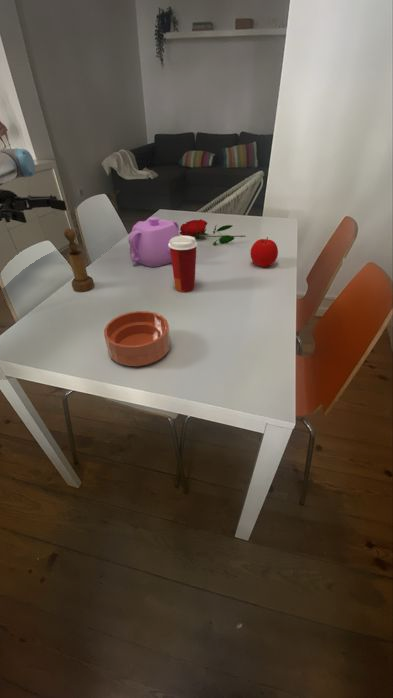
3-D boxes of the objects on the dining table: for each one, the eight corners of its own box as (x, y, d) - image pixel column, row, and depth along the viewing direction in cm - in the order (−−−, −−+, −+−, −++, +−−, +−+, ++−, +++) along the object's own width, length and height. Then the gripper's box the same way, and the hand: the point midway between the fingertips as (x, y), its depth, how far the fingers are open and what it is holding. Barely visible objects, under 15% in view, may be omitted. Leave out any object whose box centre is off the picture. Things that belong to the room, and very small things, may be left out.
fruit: (249, 269, 108) (251, 240, 102) (249, 259, 115) (252, 231, 109) (276, 270, 107) (280, 241, 101) (275, 260, 114) (279, 232, 108)
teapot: (138, 248, 126) (133, 210, 118) (190, 248, 125) (189, 210, 116) (126, 267, 111) (119, 226, 103) (185, 268, 110) (183, 226, 101)
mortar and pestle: (78, 282, 103) (63, 225, 92) (97, 282, 102) (84, 225, 91) (69, 291, 98) (52, 232, 87) (89, 292, 97) (74, 233, 86)
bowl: (101, 368, 69) (95, 346, 66) (117, 331, 81) (113, 310, 77) (166, 369, 69) (163, 347, 65) (173, 332, 80) (171, 311, 76)
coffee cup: (201, 283, 100) (201, 236, 91) (192, 295, 94) (191, 246, 85) (177, 280, 103) (174, 233, 93) (167, 292, 97) (162, 243, 87)
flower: (248, 215, 119) (181, 213, 132) (240, 234, 116) (171, 230, 129) (252, 234, 126) (188, 230, 140) (244, 252, 123) (179, 246, 136)
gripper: (40, 205, 111) (82, 214, 101) (-32, 225, 94) (9, 237, 85) (33, 181, 106) (76, 188, 97) (-44, 198, 90) (-2, 207, 80)
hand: (45, 211), depth 91 cm, fingers open, 13 cm apart
